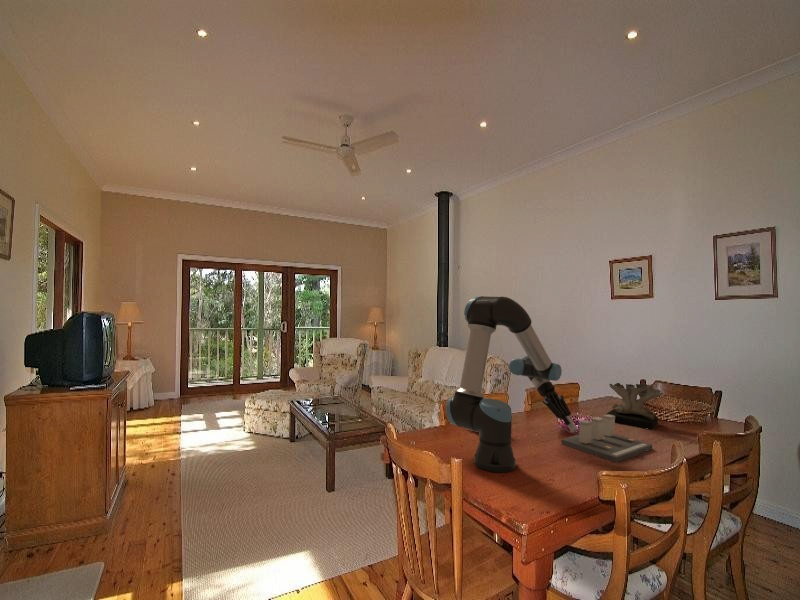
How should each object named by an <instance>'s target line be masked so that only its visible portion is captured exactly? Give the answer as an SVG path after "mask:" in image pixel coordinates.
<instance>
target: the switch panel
mask: <svg viewBox="0 0 800 600" xmlns="http://www.w3.org/2000/svg"><path fill="white" fill-rule="evenodd" d="M560 442H561V445H564V446H566V447H569V448H571V449H576V450H579V451H580V452H583V453H586V452H588V453H587V454H589V453H591V454H590V455H592V454H594V455H593V456H595V455H597V456H596V457H598V456H600V457H599V458H601V457H602V459H604V458H605V459H604V460H607V459H608V460H607V461H610V460H611V461H610V462H613V461H614V462H613V463H616V462H617V463H619V461H620V462H622V461H624V460H628V459H630V458H633V457H635V456H638V454H639V455H641V454H644V453H646V452H645V451H647V450H649V451H651V450H650V449H652V450H653V443H648V442H645V441H641V440H639V439H638V440H637V439H634V438H630V437H627V436H624V435H619V434H616V433H615V435H613V436H610V437H609V436H606V435H603V439H600V440H596V439H593V438H592V437H591V442H590V443H587V444H585V443H582V442H579V434H576V435H572V436H569V437H565V438H561V441H560ZM643 452H644V453H643ZM647 452H648V451H647ZM640 453H641V454H640Z"/></svg>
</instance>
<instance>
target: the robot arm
mask: <svg viewBox="0 0 800 600" xmlns="http://www.w3.org/2000/svg"><path fill="white" fill-rule="evenodd" d="M464 316H465V317H464V319H465V321H466V322H467V328H468V329H469V337H468V342H467V348H466V353H465V357H464V363H463V370H462V374H461V380H460V385H459V387H458V388H457V389H455V391H454V395H451V396H450V397H449V398H448V399H447V401H446V404H445V413H446V414H445V415H446V417H447V420H448V422H450V423H451V424H452V425H455V426H456V427H458V428H463V429H467V430H468V429H469V430H473V431H476V432H479V433H478V434H479V435H478V436H479V439H478V440H479V441H478V445H477V448H476V450H475V454H474V457H473V463H474V465H475V466H476V467H477V468H479V469H481V470H483V471H487V472H491V473H509V472H513V471H514V470H515V469H516V467H517V466H516V465H517V463H516V458H515V456H514V455H515V454H514V451H513V448H512V422H513V421H512V420H513V415H512V407H511V406H510V405H509V404H508V403H507V402H505V401H503V400H500V399H496V398H489V397H485V396H484V395H483V393H482V387H483V381H484V376H485V371H486V364H487V359H488V353H489V348H490V343H491V342H490V341H491V338H492V334H493V333H495V332H496V330H497V326H503V327H505V328H507V329H508V330H509V332H511V333H513V334H514V336H515V337H516V340H517V341H518V342H519V344H520V345H521V348H522V349H523V350H524V352H525V354H526V355H524V356H523V357H522V358H512V359H511V360H510V362H509V364H508V369H509V372H510V373H511V374H512V375H516V376H520V377H521V376H522V377H527V378H528V379H529V381H530V382H531V383H532V385H533V386H534V388H535V389H536V390H537V392H538V394H539V395H540V397H543V400H542V403H543V404H544V405H545V406H546V407H547V408H548V410H550V411H551V412H552V413H553V415H554V416H555V417H556V418H557V419H559V420H560V421H562V420H563V423H564V424H565V426H567V428H568V429H569V431H570V432H571V433H575V432H576V431H577V430H578V429H579V428H578V426H576V424H575V423H574V420H572V418H571V414H572V412H571V410H570V408H569V406H568V404H567V402H566V401H565V399H564V395H562V394H561V395H559V394H558V392H556V389H555V388H556V387H555V385H553V383H552V382H551V381H554V382H555V381H556V382H557V381H559V380H560V379H561V377H562V366H561V365H560V364H559V363H555V362H552V360H551V359H550V357H549V355H548V353H547V351H546V350H545V348H544V345H543V344H542V342H541V340H540V338H539V336H538V335H537V333H536V331H535V329H534V328H533V326H532V323H533V322H532V319H531V317H530V315H529V314H528V312H527V311H526V309H525V308H523V306H522V305H521V304H519V303H518V302H517V301H516V300H514V299H512V298H510V297H507V296H485V295H482V296H481V295H480V296H473V297H472V298H471V299H469V300H468V301H467V302H466V304H465V307H464ZM484 398H486V399H484ZM476 432H475V433H476Z"/></svg>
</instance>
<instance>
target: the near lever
mask: <svg viewBox="0 0 800 600" xmlns="http://www.w3.org/2000/svg"><path fill="white" fill-rule="evenodd" d="M578 423H579V424H578V425H579V432H578V435H579V442H582V443H585V444H587V443H590V442H591V437H592V421H591V420H588V419H582V420H580V421H579V422H578Z"/></svg>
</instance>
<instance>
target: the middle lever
mask: <svg viewBox="0 0 800 600" xmlns="http://www.w3.org/2000/svg"><path fill="white" fill-rule="evenodd" d="M590 421H591V422H592V438H593V439H596V440H600V439H603V426H604V419H603V417H600V416H596V417H591V420H590Z"/></svg>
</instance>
